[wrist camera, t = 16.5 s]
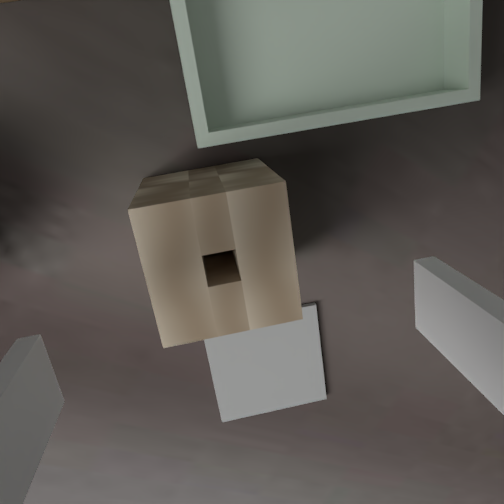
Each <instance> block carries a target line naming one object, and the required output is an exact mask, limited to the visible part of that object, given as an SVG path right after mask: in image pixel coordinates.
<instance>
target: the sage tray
mask: <svg viewBox="0 0 504 504" xmlns="http://www.w3.org/2000/svg"><path fill="white" fill-rule="evenodd" d="M169 1H170V6H171V12H172V17H173V22H174V27H175V33H176V38H177V43H178V48H179V54H180V59H181V64H182V69H183V75H184V80H185V85H186V90H187V96H188V101H189V106H190V111H191V117H192V122H193V127H194V132H195V138H196V143H197V147H198V148H204V147H210V146H215V145H221V144H227V143H233V142H239V141H245V140H250V139H256V138H262V137H268V136H274V135H280V134H285V133H291V132H297V131H303V130H309V129H315V128H320V127H326V126H332V125H338V124H344V123H350V122H355V121H361V120H367V119H373V118H379V117H385V116H390V115H396V114H402V113H408V112H414V111H420V110H425V109H431V108H437V107H443V106H449V105H455V104H460V103H466V102H472V101H478V100H480V81H481V44H482V7H483V0H169Z"/></svg>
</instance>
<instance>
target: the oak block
mask: <svg viewBox="0 0 504 504" xmlns="http://www.w3.org/2000/svg"><path fill="white" fill-rule="evenodd" d="M12 1H19V0H0V3H4V2H12Z"/></svg>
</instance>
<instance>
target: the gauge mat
mask: <svg viewBox="0 0 504 504" xmlns="http://www.w3.org/2000/svg"><path fill="white" fill-rule="evenodd" d="M301 307H302V315H303V319H301V320H296V321H292V322H287V323H282V324H277V325H272V326H268V327H263V328H258V329H253V330H248V331H243V332H239V333H234V334H229V335H224V336H219V337H215V338H210V339H205V340H204V341H205V346H206V351H207V355H208V360H209V364H210V369H211V374H212V378H213V383H214V387H215V392H216V397H217V401H218V406H219V410H220V415H221V420H222V422H226V421H230V420H235V419H239V418H244V417H248V416H253V415H257V414H261V413H266V412H270V411H275V410H279V409H284V408H288V407H293V406H297V405H301V404H306V403H310V402H315V401H319V400H324V399H327V397H326V388H325V379H324V370H323V362H322V353H321V344H320V335H319V326H318V317H317V308H316V304H315V302H313V303H308V304H304V305H301Z"/></svg>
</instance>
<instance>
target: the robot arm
mask: <svg viewBox="0 0 504 504" xmlns="http://www.w3.org/2000/svg"><path fill="white" fill-rule="evenodd" d="M414 289H415V323H416V328H417V329H418V330H419V331H420V332H421V333H422V334H423V335H424V336H425V337H426V338H427V339H428V340H429V341H430V342H431V343H432V344H433V345H434V346H435V347H436V348H437V349H438V350H439V351H440V352H441V353H442V354H443V355H444V356H445V357H446V358H447V359H448V360H449V361H450V362H451V363H452V364H453V365H454V366H455V367H456V368H457V369H458V370H459V371H460V372H461V373H462V374H463V375H464V376H465V377H466V378H467V379H468V380H469V381H470V382H471V383H472V384H473V385H474V386H475V387H476V388H477V389H478V390H479V391H480V392H481V393H482V394H483V395H484V396H485V397H486V398H487V399H488V400H489V401H490V402H491V403H492V404H493V405H494V406H495V407H496V408H497V409H498V410H499V411H500V412H501V413H502V414H503V415H504V300H503V299H501V298H499V297H498V296H496V295H495V294H493V293H492V292H490V291H488V290H487V289H485V288H484V287H482V286H480V285H479V284H477V283H476V282H474V281H472V280H471V279H469V278H468V277H466V276H465V275H463V274H461V273H460V272H458V271H457V270H455V269H453V268H452V267H450V266H449V265H447V264H445V263H444V262H442V261H441V260H439V259H438V258H436V257H434V256H433V257H428V258H422V259H417V260H414ZM64 402H65V401H64V398H63V395H62V393H61V390H60V387H59V384H58V382H57V379H56V376H55V373H54V370H53V368H52V365H51V362H50V359H49V356H48V354H47V351H46V348H45V345H44V343H43V340H42V337H41V334H39V335H34V336H29V337H24V338H19V339H17V340H16V341H15V343H14V344H13V345H12V347H11V348H10V349H9V351H8V352H7V354H6V355H5V356H4V358H3V359H2V361H1V362H0V504H23V502H24V499H25V497H26V494H27V492H28V489H29V487H30V485H31V482H32V480H33V477H34V475H35V472H36V470H37V468H38V465H39V463H40V460H41V458H42V455H43V453H44V450H45V448H46V446H47V443H48V441H49V438H50V436H51V433H52V431H53V429H54V426H55V424H56V421H57V419H58V416H59V414H60V412H61V409H62V407H63V404H64Z"/></svg>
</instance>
